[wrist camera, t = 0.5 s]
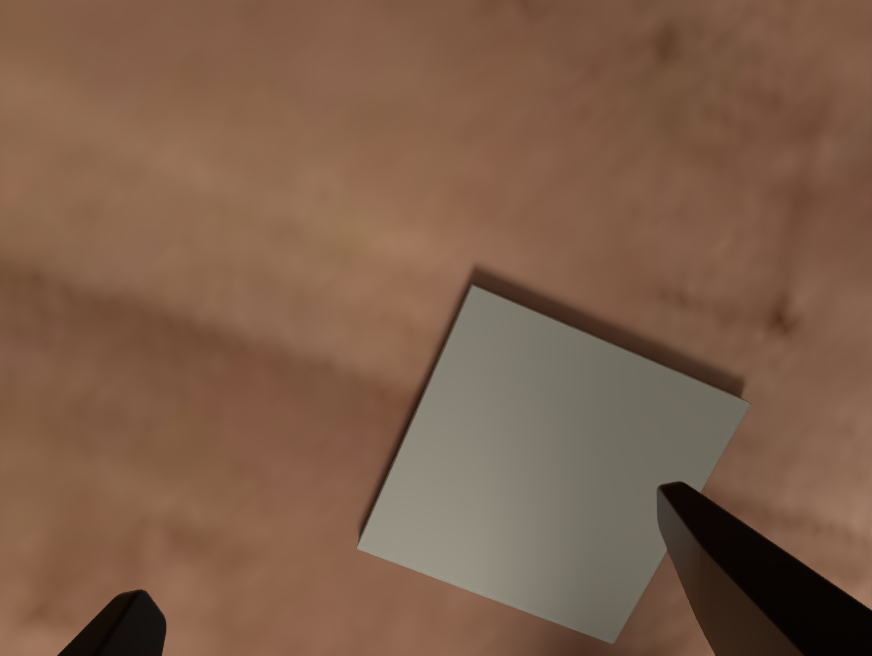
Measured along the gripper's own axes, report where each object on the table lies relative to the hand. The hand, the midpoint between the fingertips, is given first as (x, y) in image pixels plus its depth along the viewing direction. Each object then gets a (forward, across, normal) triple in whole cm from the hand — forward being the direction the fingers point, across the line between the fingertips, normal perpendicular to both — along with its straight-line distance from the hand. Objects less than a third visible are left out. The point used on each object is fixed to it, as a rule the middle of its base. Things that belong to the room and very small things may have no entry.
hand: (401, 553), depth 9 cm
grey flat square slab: (+13, -4, +12) cm, 18 cm away
